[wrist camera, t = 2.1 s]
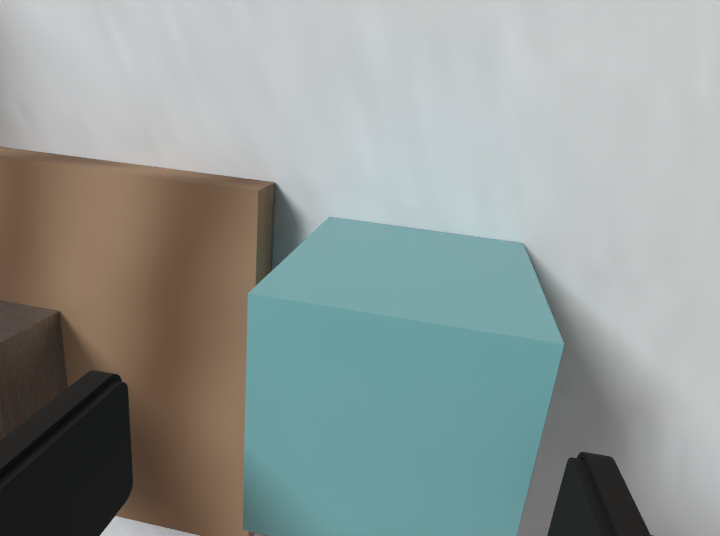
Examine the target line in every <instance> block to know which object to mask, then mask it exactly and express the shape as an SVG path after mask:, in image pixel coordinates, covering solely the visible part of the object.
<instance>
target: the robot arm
mask: <svg viewBox="0 0 720 536" xmlns="http://www.w3.org/2000/svg"><path fill="white" fill-rule="evenodd" d="M132 487H133V470H132V452H131V433H130V415H129V397H128V386H127V384H126V383H125V382H122V379H121V377H120V376H119V375H118V374H114V373H108V372H102V371H96V370H92V371H89V372H87V373H86V374H85V375H83V376H82V377H81V378H80V379H78V380H77V381H76V382H74V383H73V384H72V385H71V386H69V387H68V388H67V389H65V390H64V391H63V392H62V393H60V394H59V395H58V396H56V397H55V398H54V399H53V400H51V401H50V402H49V403H47V404H46V405H45V406H44V407H42V408H41V409H40V410H38V411H37V412H36V413H35V414H33V415H32V416H31V417H29V418H28V419H27V420H26V421H24V422H23V423H22V424H20V425H19V426H18V427H17V428H15V429H14V430H13V431H11V432H10V433H9V434H8V435H6V436H5V437H4V438H2V439H1V440H0V536H100V535H101V533H102V532H103V531H104V529H105V528H106V527H107V526H108V524H109V523H110V522H111V520H112V519H113V518H114V517H115V515H116V514H117V513H118V511H119V510H120V509H121V508H122V506H123V505H124V504H125V502H126V501H127V500H128V498H129V496H130V494H131V491H132ZM547 536H652V535H650V533H649V531H648V529H647V527H646V525H645V523H644V521H643V519H642V517H641V515H640V512H639V510H638V508H637V506H636V504H635V502H634V500H633V498H632V496H631V494H630V492H629V490H628V488H627V485H626V483H625V481H624V479H623V477H622V475H621V473H620V471H619V469H618V467H617V465H616V463H615V461H614V459H613V458H612V457H610V456H604V455H598V454H592V453H586V452H581V453H579V455H578V457H577V459H576V458H569V460H568V462H567V464H566V468H565V472H564V476H563V479H562V483H561V487H560V491H559V494H558V498H557V502H556V506H555V509H554V513H553V517H552V521H551V524H550V528H549V532H548V535H547Z"/></svg>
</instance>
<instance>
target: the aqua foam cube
mask: <svg viewBox="0 0 720 536" xmlns="http://www.w3.org/2000/svg"><path fill="white" fill-rule="evenodd" d="M563 348H564V342H563V340H562V337H561V335H560V332H559V330H558V327H557V325H556V323H555V320H554V318H553V315H552V313H551V310H550V308H549V305H548V303H547V300H546V298H545V295H544V293H543V290H542V288H541V286H540V283H539V281H538V278H537V276H536V273H535V271H534V268H533V266H532V263H531V261H530V258H529V256H528V254H527V251H526V249H525V246H524V244H523V243H517V242H509V241H502V240H495V239H487V238H480V237H473V236H465V235H458V234H451V233H443V232H436V231H429V230H421V229H414V228H407V227H399V226H392V225H385V224H377V223H370V222H363V221H355V220H348V219H341V218H333V217H329V218H328V219H327V220H326V221H325V222H324V223H322V224H321V225H320V226H319V227H318V228H317V229H316V230H315V231H314V232H313V233H312V234H311V235H310V236H309V237H307V238H306V239H305V240H304V241H303V242H302V243H301V244H300V245H299V246H298V247H297V248H296V249H295V250H294V251H293V252H291V253H290V254H289V255H288V256H287V257H286V258H285V259H284V260H283V261H282V262H281V263H280V264H279V265H278V266H276V267H275V268H274V269H273V270H272V271H271V272H270V273H269V274H268V275H267V276H266V277H265V278H264V279H263V280H262V281H260V282H259V283H258V284H257V285H256V286H255V287H254V288H253V289H252V290H251V291H250V292H249V293H248V310H247V353H246V396H245V440H244V483H243V526H242V530H245V531H249V532H254V533H258V534H263V535H267V536H517V533H518V529H519V525H520V521H521V517H522V513H523V509H524V505H525V501H526V497H527V493H528V489H529V485H530V481H531V477H532V473H533V468H534V464H535V460H536V456H537V452H538V448H539V444H540V440H541V436H542V432H543V428H544V424H545V420H546V416H547V412H548V408H549V404H550V400H551V396H552V392H553V388H554V384H555V380H556V376H557V372H558V368H559V364H560V360H561V356H562V352H563Z"/></svg>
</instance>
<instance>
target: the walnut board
mask: <svg viewBox="0 0 720 536" xmlns="http://www.w3.org/2000/svg"><path fill="white" fill-rule="evenodd" d="M274 193H275V182H267V181H259V180H252V179H244V178H236V177H228V176H221V175H213V174H205V173H197V172H189V171H182V170H174V169H166V168H158V167H151V166H143V165H135V164H127V163H120V162H112V161H104V160H96V159H89V158H81V157H73V156H65V155H58V154H50V153H42V152H34V151H26V150H19V149H11V148H3V147H0V300H1V301H7V302H13V303H18V304H24V305H30V306H35V307H41V308H47V309H52V310H58V311H60V320H61V329H62V338H63V348H64V357H65V366H66V376H67V385H68V387H69V386H71V385H72V384H73V383H74V382H76V381H77V380H78V379H80V378H81V377H82V376H83V375H85V374H86V373H87V372H89V371H92V370H96V371H102V372H108V373H114V374H118V375H119V376H120V377H121V379H122V382H125V383H126V384H127V386H128V397H129V415H130V433H131V452H132V470H133V487H132V491H131V494H130V496H129V498H128V500H127V501H126V502H125V504H124V505H123V506H122V508H121V509H120V510H119V511H118V513H117V514H116V515H115V516H119V517H123V518H127V519H132V520H136V521H140V522H145V523H149V524H153V525H157V526H162V527H166V528H170V529H175V530H179V531H183V532H187V533H192V534H196V535H200V536H253V535H254V532H249V531H245V530H242V526H243V483H244V440H245V396H246V353H247V310H248V293H249V292H250V291H251V290H252V289H253V288H254V287H255V286H256V285H257V284H258V283H259V282H260V281H262V280H263V279H264V278H265V277H266V276H267V275H268V274H269V273H270V272H271V270H272V245H273V219H274Z"/></svg>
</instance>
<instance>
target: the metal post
mask: <svg viewBox="0 0 720 536" xmlns="http://www.w3.org/2000/svg"><path fill="white" fill-rule="evenodd" d="M67 388H68V385H67V376H66V366H65V357H64V348H63V338H62V329H61V320H60V311H58V310H52V309H47V308H41V307H35V306H30V305H24V304H18V303H13V302H7V301H1V300H0V440H1V439H2V438H4V437H5V436H6V435H8V434H9V433H10V432H11V431H13V430H14V429H15V428H17V427H18V426H19V425H20V424H22V423H23V422H24V421H26V420H27V419H28V418H29V417H31V416H32V415H33V414H35V413H36V412H37V411H38V410H40V409H41V408H42V407H44V406H45V405H46V404H47V403H49V402H50V401H51V400H53V399H54V398H55V397H56V396H58V395H59V394H60V393H62V392H63V391H64V390H65V389H67Z"/></svg>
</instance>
